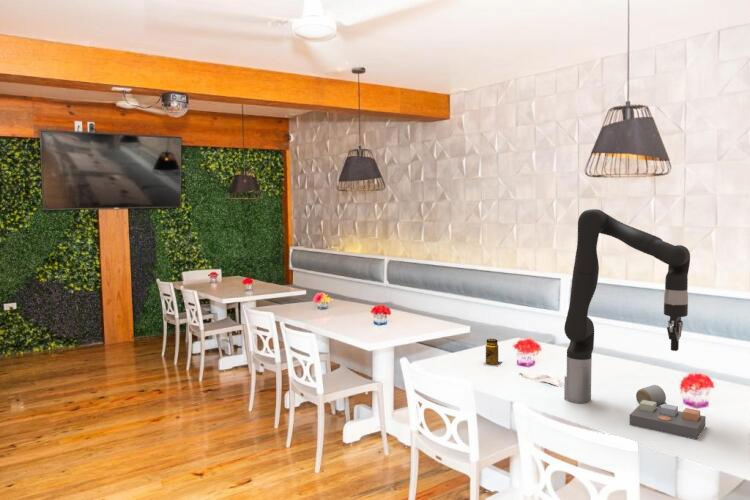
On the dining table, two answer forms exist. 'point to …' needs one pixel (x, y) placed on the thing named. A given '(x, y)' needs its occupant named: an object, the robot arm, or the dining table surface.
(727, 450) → the dining table surface
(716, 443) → the dining table surface
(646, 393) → the ceramic mug
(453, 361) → the dining table surface
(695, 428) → the key panel
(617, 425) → the dining table surface
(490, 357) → the condiment
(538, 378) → the cloth
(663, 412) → the blue key
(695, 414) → the terracotta key
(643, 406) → the sage key
